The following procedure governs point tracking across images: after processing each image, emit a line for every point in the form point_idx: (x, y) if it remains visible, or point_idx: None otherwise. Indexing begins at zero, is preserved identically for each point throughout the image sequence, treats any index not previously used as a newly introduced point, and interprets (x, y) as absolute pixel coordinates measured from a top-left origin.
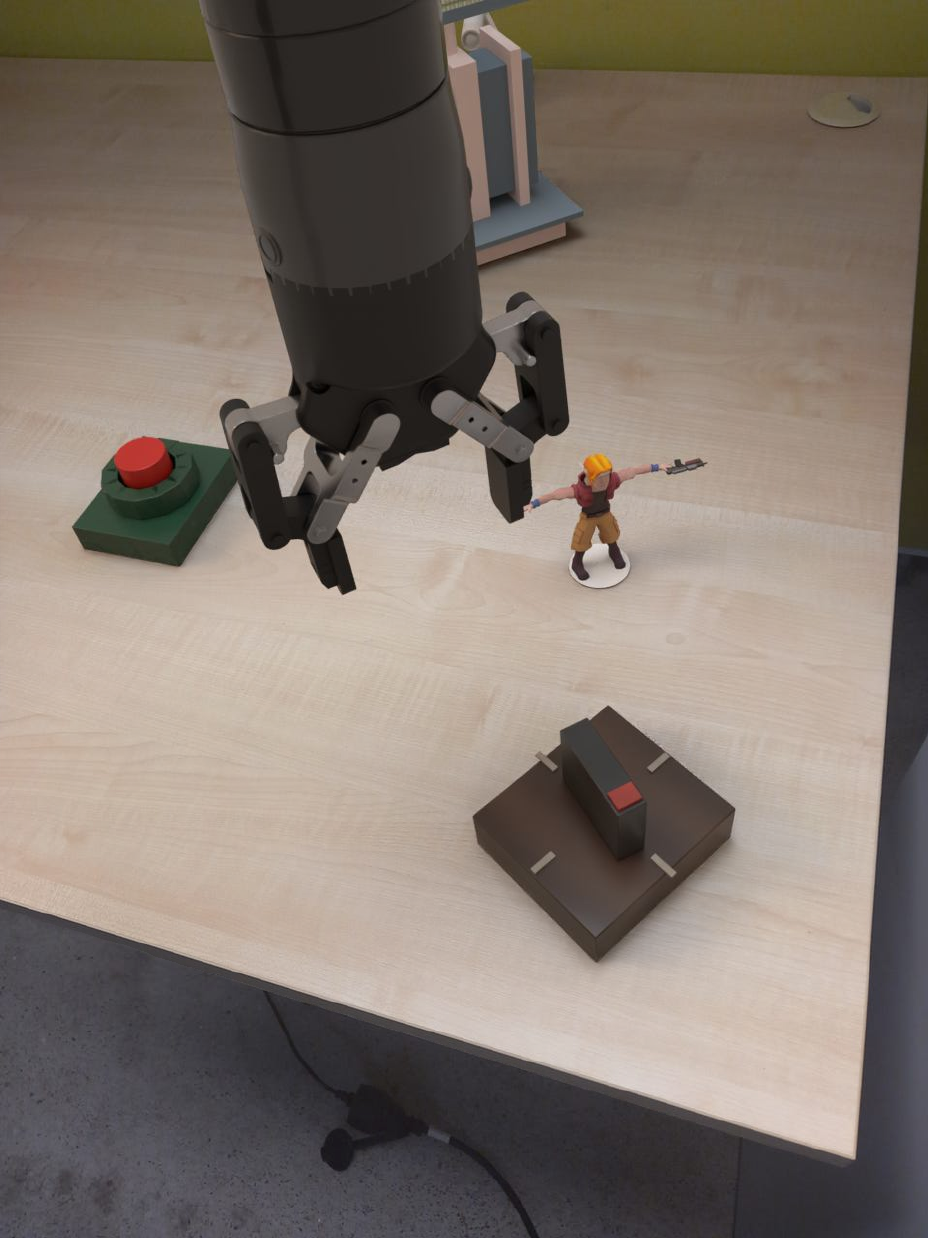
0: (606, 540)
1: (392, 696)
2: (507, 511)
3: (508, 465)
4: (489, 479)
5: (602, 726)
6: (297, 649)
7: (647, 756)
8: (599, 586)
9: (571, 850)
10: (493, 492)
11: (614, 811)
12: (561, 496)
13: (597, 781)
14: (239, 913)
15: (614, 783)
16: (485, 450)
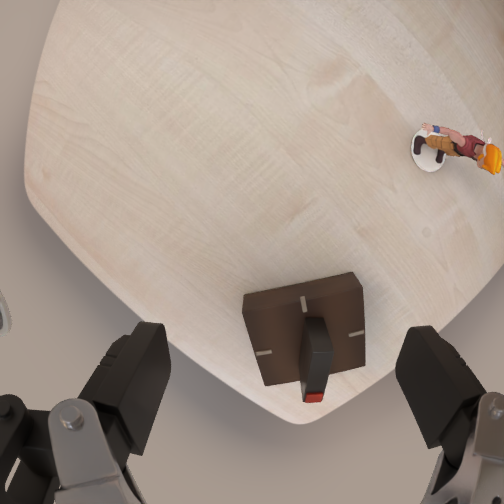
0: (446, 152)
1: (243, 163)
2: (402, 378)
3: (434, 445)
4: (427, 349)
5: (349, 298)
6: (196, 86)
7: (355, 326)
8: (419, 166)
9: (281, 352)
10: (416, 348)
11: (303, 398)
12: (454, 140)
13: (308, 385)
14: (110, 262)
15: (315, 388)
16: (453, 388)
